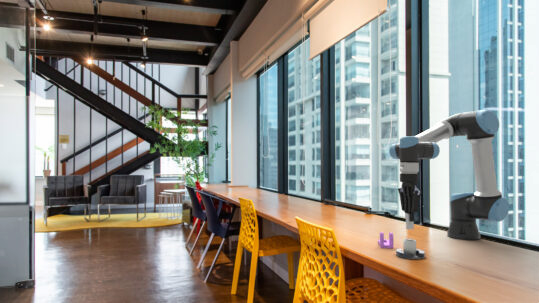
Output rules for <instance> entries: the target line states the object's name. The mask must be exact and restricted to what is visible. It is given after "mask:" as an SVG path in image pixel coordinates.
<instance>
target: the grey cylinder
mask: <svg viewBox="0 0 539 303" xmlns="http://www.w3.org/2000/svg"><path fill="white" fill-rule="evenodd" d="M402 243H403V244H402V245H403V248H402V251H404V252H406V253H413V256H416V249H417V240H415V239H413V238H404V239H403V242H402Z"/></svg>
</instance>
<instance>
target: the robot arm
mask: <svg viewBox="0 0 539 303" xmlns="http://www.w3.org/2000/svg"><path fill="white" fill-rule="evenodd" d="M499 128H500V122H499V118H498V116H497V114H496V113H494V111H492V110H489V109H482V110H481V109H479V110H475V111H473V110H472V111H466V112H465V111H464V112H459V113H455V114H453V115H451V116H449V117H446V118H444V119H442V120H439V121H438V122H437V123H436V124H435V126H433V127H431V128H429V129H428V128H427V129H426V130H425V131H423V132H421V133H419V134H417V135H411V136H402V137H400V138H399V142H397V143H393V144H391V145H390V147H389V151H388V153H389V155H390V157H391V158H392V159H394V160H399V182H400V183H401V187H399V188H397V191H398V194H399V201H400V207H401V211H402V212H404V213H405V215H404V216H405V229H407V230H414V229H415V226H414V225H415V223H414V222H415V214H417V213H419V206H420V201H421V195H422V193H423V191H422V190H421V189H420V190H419V188H418V187H419V186H418V183H419V182H420V174H419V172H420V166H419V165H420V161H419V160H434V159H436V158H437V157H438V156H439V155H440V146H439V144H438V142H440V141H442V140H448V139H451V138H452V137H458V136H459V137H463V136H465V137H466V140H467V141H468V142H469V143H470V145H471V146H470V147H471V155H472V161H473V171H474V178H475V186H476V191H474V192H460V193H459V192H458V193H457V192H456V193H451V194H450V198H449V200H450V201H449V203H450V205H449V206H450V222H449V226H448V229H447V232H446V234H447V237H450V238H451V239H458V240H467V241H475V240H480V239H481V233H480V232H479V227H478V225H477V220H483V221H489V222H497V223H498V222H502V221H504V220H505V219H506V218H507V217H508V214H509V212H510V203H509V200H508V199H507V198H505V197H503V195H502V192H501V191H500V190H499V189H498V185H497V176H496V168H495V161H494V160H495V159H494V158H495V157H494V151H493V143H492V142H493V141H492V140H494V139H495V134H496V133H498V131H499V130H500V129H499Z"/></svg>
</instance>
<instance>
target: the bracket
mask: <svg viewBox="0 0 539 303" xmlns="http://www.w3.org/2000/svg"><path fill="white" fill-rule="evenodd" d="M377 243H378V245H379V248H380V249H394V233H393V232H389V233H388V239H385V234H384V231H380V232H379V239H378V240H377Z"/></svg>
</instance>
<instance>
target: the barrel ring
mask: <svg viewBox="0 0 539 303" xmlns="http://www.w3.org/2000/svg"><path fill="white" fill-rule="evenodd" d="M395 255H396V256H397V257H398V258H402V259H406V260H422V259H425V256H426V251H424V250H422V249H419V248H416V256H413V253H406V252H404V251H403V248H396V249H395Z"/></svg>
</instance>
